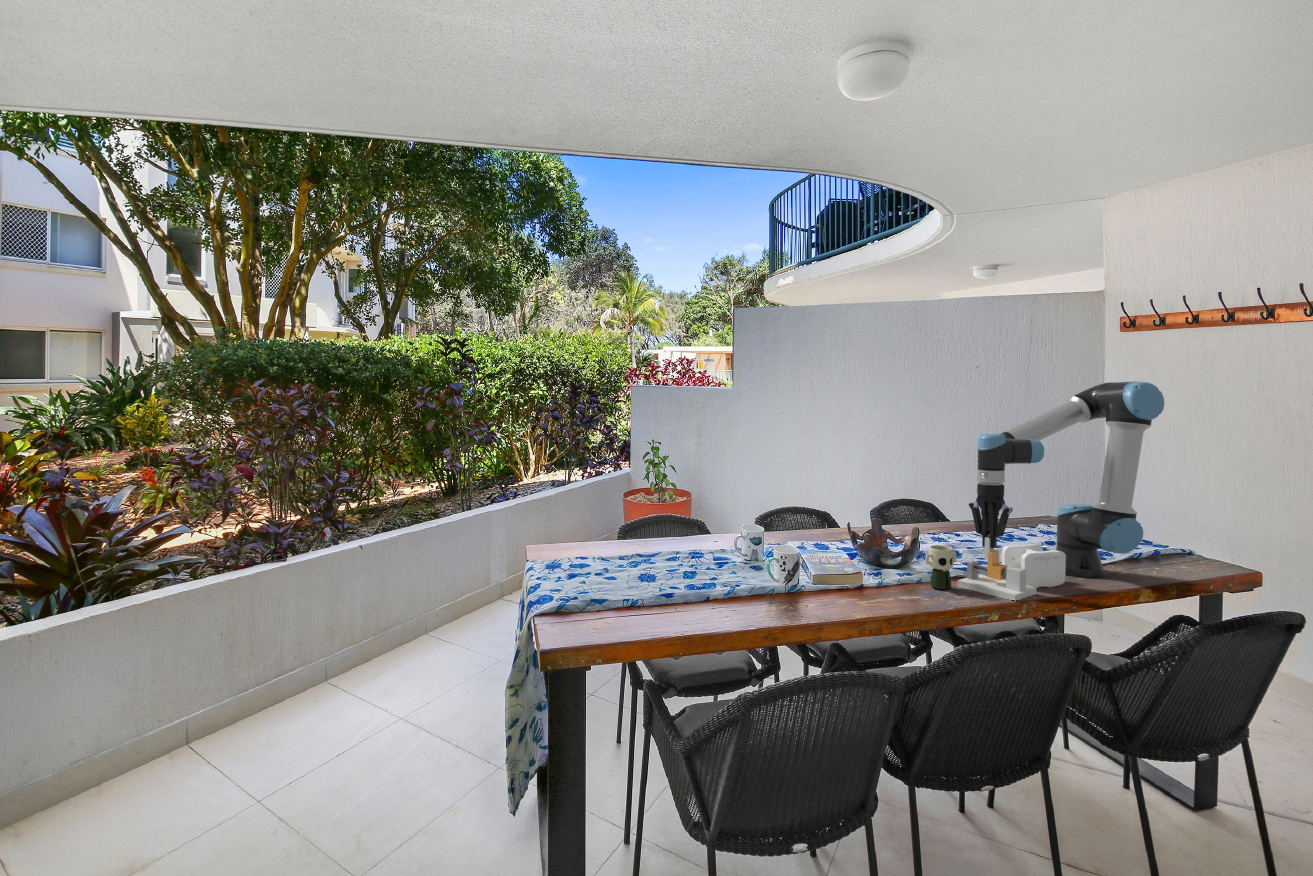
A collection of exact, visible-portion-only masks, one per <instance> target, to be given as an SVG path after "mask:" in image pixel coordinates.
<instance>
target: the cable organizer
mask: <svg viewBox="0 0 1313 876" xmlns="http://www.w3.org/2000/svg"><path fill="white" fill-rule="evenodd" d="M1001 564H1002V565H1007V568H1009V567H1012V566H1014V567H1018V568H1023V569H1026V585H1027V586H1031V587H1035V588H1036V589H1039V588H1043V587H1046V588H1054V587H1055V586H1056V587H1058V586H1062V585H1063V584H1064V583H1065V582H1066V574H1065V570H1066V555H1065V553H1064V552H1061V551H1058V550H1056V549H1055V550H1044V549H1043V546H1041V545H1039V544H1036V543H1030V544H1029V543H1028V544H1016V545H1015V544H1013V545H1006V546H1005V547H1003V548H1002V551H1001Z"/></svg>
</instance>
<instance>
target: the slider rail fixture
mask: <svg viewBox="0 0 1313 876" xmlns="http://www.w3.org/2000/svg"><path fill="white" fill-rule="evenodd" d="M966 566H967V568H966V577H964V578H961V579H958V580H957V587H959V588H962V589H967V590H970V591H973V590H974V592H977V591H978V593H982V594H985V595H989V596H994V597H997V598H999V599H1000V598H1001V599H1003V600H1004V599H1005V600H1007V599H1009V600H1008V601H1011V600H1015V601H1014V602H1017V601H1016V600H1018V601H1020V600H1019V599H1021V600H1023V599H1022V598H1024V599H1026V598H1025V597H1027V598H1029V596H1030V597H1032V595H1033V596H1036V595H1037V588H1035V587H1031V586H1027V585H1026V569H1023V568H1018V567H1014V566H1012V567H1009V568H1004V569H1003V571H1002V577H1003V578H1006V579H1003V580H996V579H992V578H988V577H987V575H984V574H981V573H979V570H980V571H984V572H987V568H988V566H984V565H983V566H982V565H979V561H976V560H972V561H971V562H970V561H967V562H966Z"/></svg>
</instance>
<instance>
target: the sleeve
mask: <svg viewBox="0 0 1313 876" xmlns="http://www.w3.org/2000/svg"><path fill="white" fill-rule="evenodd" d="M987 567H988V568H987V571H986V573H987V574H986V576H987V577H988V578H992V579H996V580H1006V578H1003V577H1002V571H1003V569H1004V568H1007V565H1002V563H1000V550H995V549H994V551H991V552H988V558H987Z"/></svg>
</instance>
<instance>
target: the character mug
mask: <svg viewBox="0 0 1313 876" xmlns="http://www.w3.org/2000/svg"><path fill="white" fill-rule="evenodd" d="M928 547H929V548H928V553H927V554H926V555H925V564H926V565H927V566H929V567H931V568H932V570H931V575H930V581H929V586H931V587H933V588H935V589H940V590H946V589H947V587H948V589H949V590H950V589H951V588H952V581H951V579H952V578H951V572H950V570H951V569H953V567H954V565H955V563H956V562H957V552H956V551H954V548H953V547H952V546H947V545H941V544H935V545H930V546H928Z"/></svg>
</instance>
